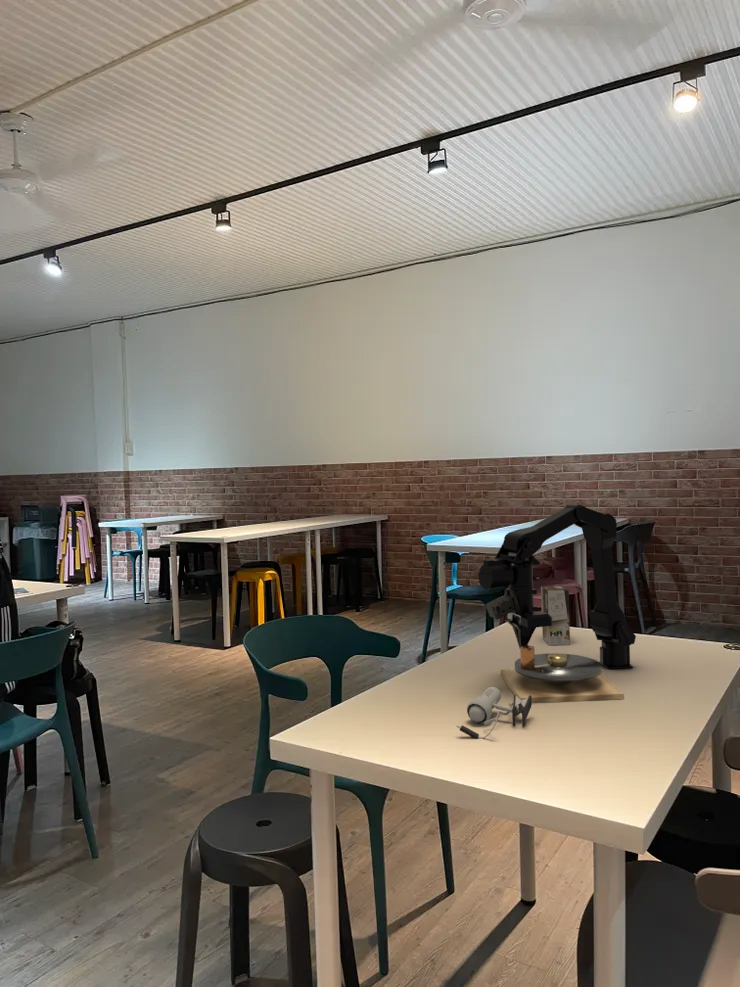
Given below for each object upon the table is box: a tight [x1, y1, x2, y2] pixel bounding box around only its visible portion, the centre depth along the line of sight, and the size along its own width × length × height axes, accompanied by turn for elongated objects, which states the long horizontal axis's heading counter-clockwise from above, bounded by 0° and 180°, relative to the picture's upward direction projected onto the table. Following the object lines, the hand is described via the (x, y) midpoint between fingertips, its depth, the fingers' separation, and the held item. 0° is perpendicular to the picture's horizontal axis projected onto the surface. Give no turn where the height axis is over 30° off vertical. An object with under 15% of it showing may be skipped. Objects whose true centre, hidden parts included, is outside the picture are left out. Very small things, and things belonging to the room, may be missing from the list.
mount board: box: [499, 668, 625, 704], centre depth 173 cm, size 23×23×4 cm
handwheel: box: [514, 644, 603, 682], centre depth 173 cm, size 20×20×6 cm
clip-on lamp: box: [456, 686, 533, 740], centre depth 148 cm, size 12×6×18 cm
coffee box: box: [540, 584, 571, 646], centre depth 216 cm, size 9×6×16 cm
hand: (522, 649), depth 175 cm, fingers closed
